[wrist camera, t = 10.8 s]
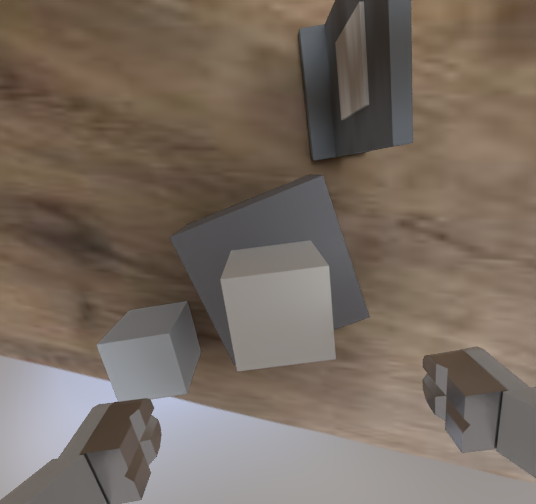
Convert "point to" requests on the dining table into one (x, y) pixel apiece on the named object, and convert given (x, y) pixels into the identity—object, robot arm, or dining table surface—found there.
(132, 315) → the grey blue cube
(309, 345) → the ivory cube
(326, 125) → the standing grey panel
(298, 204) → the base block
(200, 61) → the dining table surface
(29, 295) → the dining table surface
